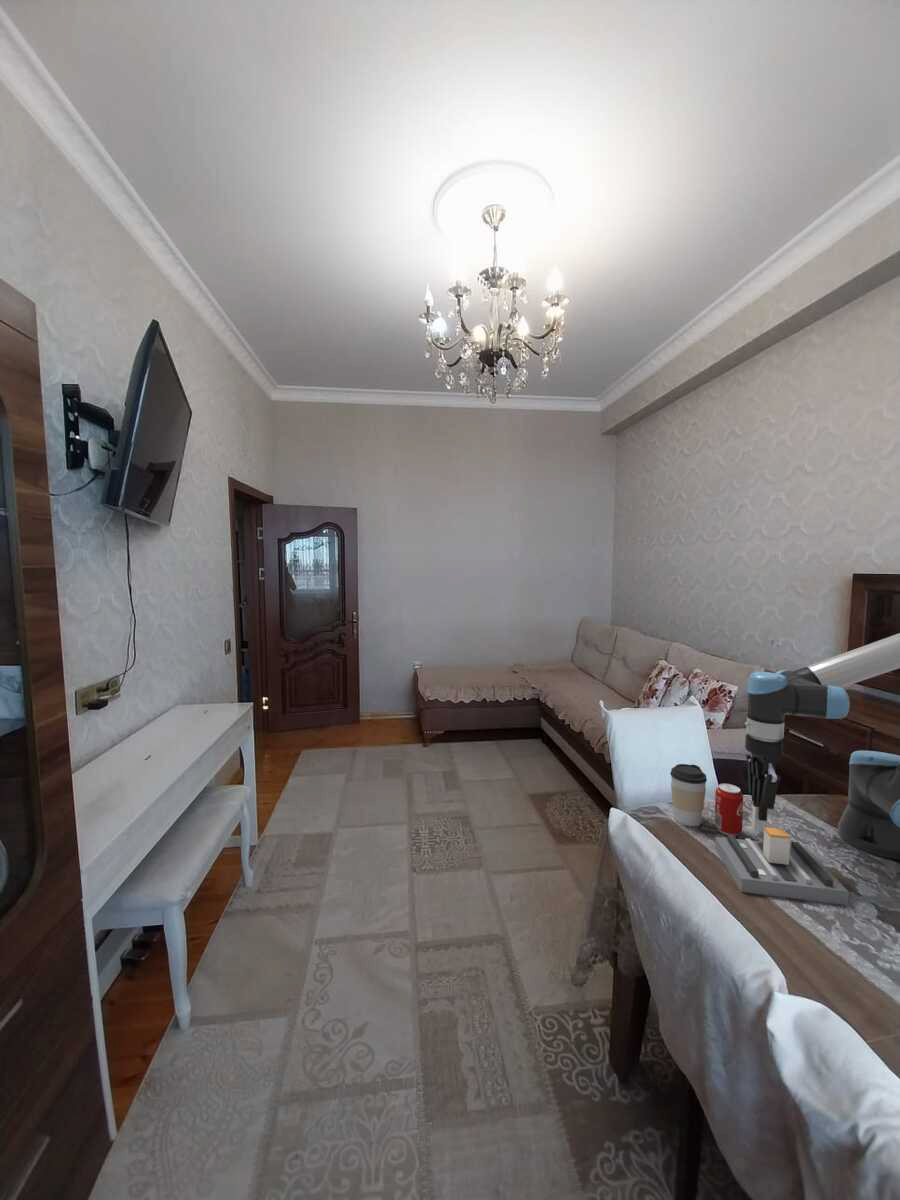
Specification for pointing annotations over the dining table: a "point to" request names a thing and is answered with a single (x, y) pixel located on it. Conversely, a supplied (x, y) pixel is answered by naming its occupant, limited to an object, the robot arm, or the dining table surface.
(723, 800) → the beverage can
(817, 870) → the dark grey bar
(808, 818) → the dining table surface
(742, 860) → the dark grey rail
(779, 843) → the orange-topped grey block
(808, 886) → the panel
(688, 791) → the coffee cup
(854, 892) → the dining table surface
